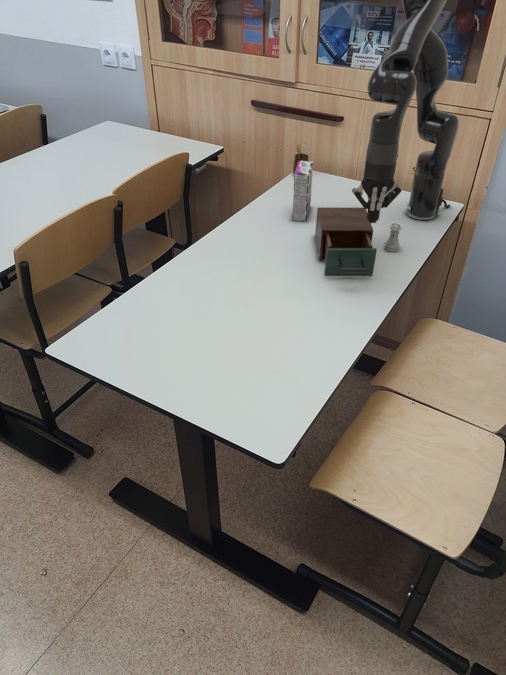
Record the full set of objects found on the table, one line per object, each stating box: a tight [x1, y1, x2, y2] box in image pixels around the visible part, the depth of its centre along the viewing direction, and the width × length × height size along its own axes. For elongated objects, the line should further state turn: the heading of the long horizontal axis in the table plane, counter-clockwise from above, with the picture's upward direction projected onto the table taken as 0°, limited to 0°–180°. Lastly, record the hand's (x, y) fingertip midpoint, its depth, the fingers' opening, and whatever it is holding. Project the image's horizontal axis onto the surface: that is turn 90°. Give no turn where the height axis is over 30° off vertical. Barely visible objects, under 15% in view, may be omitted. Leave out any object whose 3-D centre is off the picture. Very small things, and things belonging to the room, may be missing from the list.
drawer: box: [323, 233, 377, 277], centre depth 150 cm, size 19×13×8 cm
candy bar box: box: [292, 160, 314, 222], centre depth 176 cm, size 11×5×16 cm, turn 168°
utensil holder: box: [292, 144, 309, 174], centre depth 205 cm, size 6×6×12 cm
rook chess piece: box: [384, 222, 402, 253], centre depth 161 cm, size 4×4×8 cm
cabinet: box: [314, 207, 374, 262], centre depth 160 cm, size 15×15×10 cm
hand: (372, 221), depth 143 cm, fingers closed
